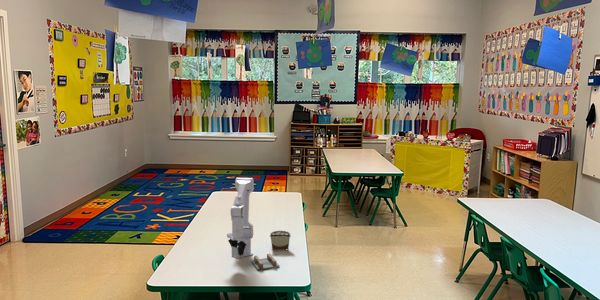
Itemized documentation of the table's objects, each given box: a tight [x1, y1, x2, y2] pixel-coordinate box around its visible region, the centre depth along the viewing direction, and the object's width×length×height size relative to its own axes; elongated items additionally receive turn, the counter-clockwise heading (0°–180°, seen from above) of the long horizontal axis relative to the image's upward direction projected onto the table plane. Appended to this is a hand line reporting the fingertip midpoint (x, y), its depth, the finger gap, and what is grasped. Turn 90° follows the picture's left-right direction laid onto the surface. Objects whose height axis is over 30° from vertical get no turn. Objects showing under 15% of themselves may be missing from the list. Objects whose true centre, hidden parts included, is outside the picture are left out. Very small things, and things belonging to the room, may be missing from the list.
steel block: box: [231, 244, 245, 260], centre depth 232 cm, size 4×4×6 cm
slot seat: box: [250, 253, 280, 272], centre depth 239 cm, size 12×12×4 cm
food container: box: [269, 230, 292, 251], centre depth 262 cm, size 12×6×10 cm, turn 92°
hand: (238, 253), depth 232 cm, fingers closed on steel block, 4 cm apart
